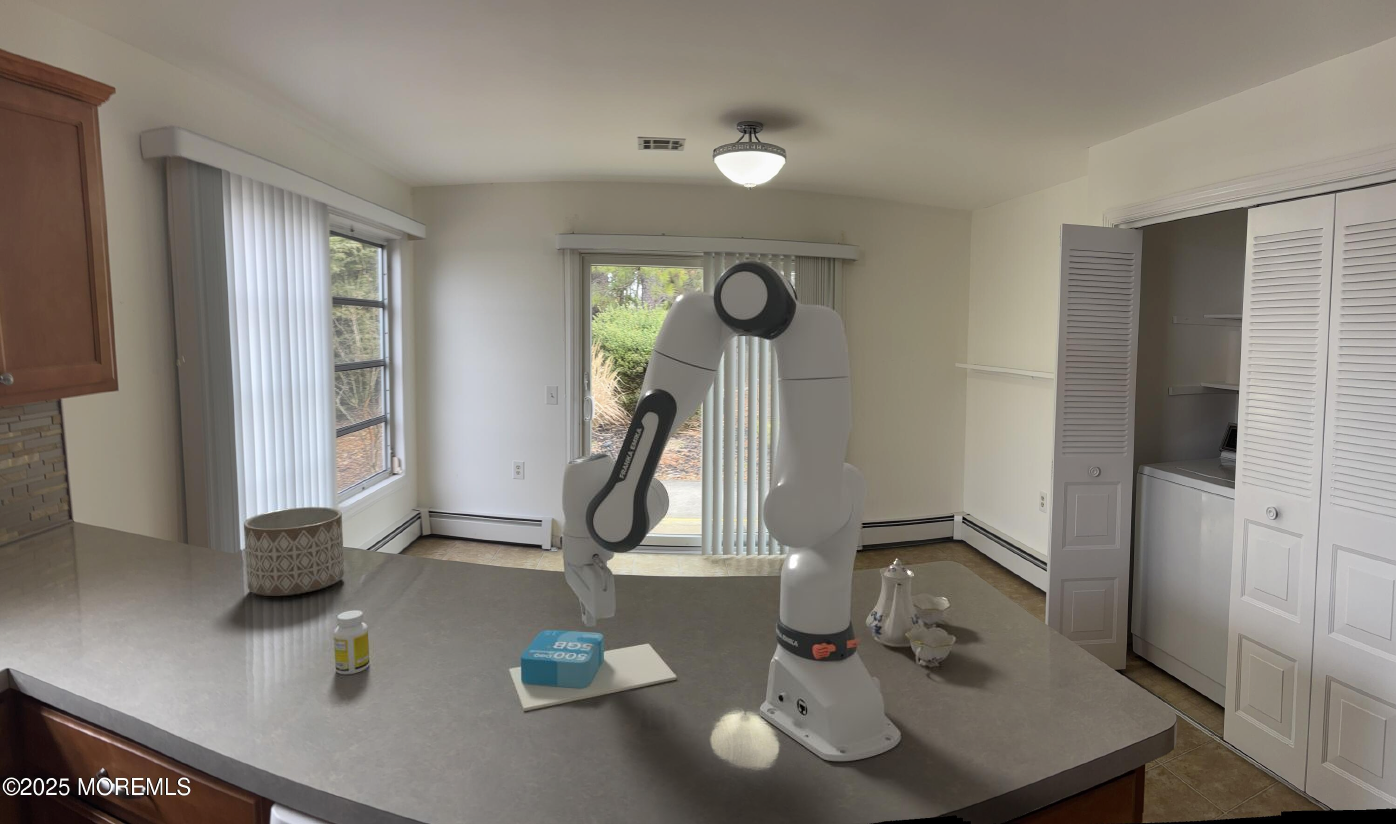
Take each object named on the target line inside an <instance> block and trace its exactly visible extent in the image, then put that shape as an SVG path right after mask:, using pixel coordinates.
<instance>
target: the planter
mask: <svg viewBox="0 0 1396 824" xmlns="http://www.w3.org/2000/svg"><path fill="white" fill-rule="evenodd" d="M342 518H343V515H342V511H340V510H339V509H336V508H332V507H322V506H309V507H308V506H307V507H293V508H285V509H284V508H283V509H278V510H272V511H267V512H264V513H260V514H256V515H254V516H251V517H249V518H247V519H246V520H244V522H243V531H244V532H243V533H244V548H245V549H244V551H245V566H246V567H245V568H246V582H247V588H248V590H249V591H250V592H251V593H253V594H255V595H259V596H266V597H267V596H269V597H278V596H279V597H281V596H295V595H294V594H297V595H302V594H301V593H303V594H307V593H310V592H315V591H318V590H321V589H324V588H327V587H330V586H331V585H335V584H336V583H337V582H339V581H340V580H342V578H343V577H344V575H345V557H344V537H343V536H344V535H343V519H342ZM306 592H307V593H306Z"/></svg>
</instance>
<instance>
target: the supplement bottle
mask: <svg viewBox="0 0 1396 824" xmlns="http://www.w3.org/2000/svg"><path fill="white" fill-rule="evenodd" d="M336 619H337V627H336V628H335V629H334V630H333V646H334V663H335V671H336V672H337V673H338V674H339V675H353V674H357V673H360V672H363V671H364V670H366V669H367V668H368V667H369V666H370V646H369V645H370V644H369V642H370V641H369V628H368V625H367V624H366V623H365V622H363V621H364V614H363V611H361V610H356V609H355V610H347V611H343V612H342V613H339V614H338V615H337V618H336Z"/></svg>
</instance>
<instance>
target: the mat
mask: <svg viewBox="0 0 1396 824" xmlns="http://www.w3.org/2000/svg"><path fill="white" fill-rule="evenodd" d="M508 672H509V675H510V677H511V681H512V683H513V685H514V688H515V690H516V691H515V692H516V693H517V696H518V699H519V702H520V704H521V707H522V709H523V712H526V711H531V710H537V709H543V708H546V707H549V706H550V707H551V706H556V705H560V704H566V703H570V702H574V701H579V700H584V699H589V698H594V697H598V696H605V695H609V694H613V693H617V692H622V691H628V690H633V689H637V688H641V687H646V686H651V685H655V684H663V683H665V682H670V681H674V680H677V678H678V676H677V675H676V674H675V673H674V672H673V671H672V669H671V668H670V667H669V666H668V665H667V663H666V662H665V661H664V660H663V659H662V657H661V656H660V655H659V654H658V653H657V651H655V649H653V647H652V645H651V644H649V643H645V644H638V645H633V646H626V647H621V648H616V649H610V650H604V660H603V662H602V664H601V665H600V667H599V669H598V671H597V673H596V675H595V676H594V678H593V680H592V682H591V684H590V685H589V686H587V687H585V688H568V687H555V686H542V685H528V684H524V683H523V682H522V681H521V666H517V667H516V666H515V667H511V668H508Z"/></svg>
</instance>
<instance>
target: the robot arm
mask: <svg viewBox="0 0 1396 824" xmlns="http://www.w3.org/2000/svg"><path fill="white" fill-rule="evenodd" d="M658 331H659V332H658V334H657V335H656V336H657V337H656V339H655V342H654V345H653V348H652V349H651V354H650V357H649V360H648V364H647V367H646V371H645V374H644V379H643V382H642V385H641V390H640V393H639V396H638V400H637V403H636V407H635V410H634V414H633V416H632V418H631V421H630V423H629V427H628V430H627V431H626V433H625V436H624V439H623V442H622V444H621V446H620V447H621V448H620V450H619V452H618V456H617V458H616V461H615V459H613V458H612V456H610V455H609V454H606V453H593V454H586V455H583V456H578V457H576V458H574V459H572V460H571V461H569V462H568V463H567V464H566V465H565V467H564V472H563V479H562V494H561V506H562V511H563V515H564V523H563V526H562V533H561V534H560V535H559V541H558V542H559V546H560V547H561V549H562V559H563V561H562V563H563V570H564V576H565V577H564V578H565V581H566V582H567V584H568V585H569V587H570V588H571V589H572V590H573V592H574V593H575V595H576V596H577V598H578V599H579V604H580V605H579V606H580V611H581V621H583V623H584V625H585V626H586V628H592V627H595V626H596V625H597V620H599V619H607V618H612V617H614V615H615V613H616V605H617V604H616V587H615V578H614V573H613V571H612V570H611V569H610V567H608V562H609V561H610V560H612V559H613V558H614V556H615V553H617V554H622V553H629V552H631V551H633V550H634V549H636V548H637V547H639V545H640V544H641V543H642V542H643V540H644V539H645V538H646V537H647V535H649V534H650V532H651V531H653V530H654V529H655V528H656V526H658V525H659V524H660V523H661V521H662V520H663V519H664V518H665V516H667V513H668V511H669V508H670V498H669V493H668V491H667V489H666V487H665V485H664V484H663V483H662V482H661V481H660V480H659V479H657V478H656V477H655V476H656V472H657V470H658V467H659V464H660V462H661V459H662V456H663V454H664V452H665V449H666V447H667V446H668V444H669V441H670V439H671V438H673V437H672V436H673V435H674V434H675V433H676V431H677V430H678V429H679V428H680V427H681V426H682V425H683V423H685V422H686V421H687V420H688V419H689V418H690V417H691V416H692V415H693V414H694V413H695V412H696V411H698V410H699V408H701V406H702V404H703V402H704V401H705V399H706V397H707V396H708V394H709V392H710V390H711V387H712V385H713V383H714V380H715V377H716V375H717V373H718V370H719V366H720V363H721V361H722V357H723V355H724V352H725V350H726V348H727V345H728V344H729V342H730V341H731V340H733V339H734V338H736V337H753V338H760V339H762V340H767V341H770V342H771V343H772V345H773V347H774V349H775V353H776V361H777V385H778V387H777V388H778V414H779V415H778V416H779V417H778V419H779V425H778V427H779V430H778V439H777V447H776V452H775V453H776V455H775V460H774V464H773V465H774V466H773V472H772V479H771V483H770V488H769V490H768V493H767V495H766V497H765V499H764V502H763V506H762V519H763V522H764V523H763V524H764V526H765V528H766V530H767V532H768V533H769V534H770V536H771V537H772V539H774V540H775V541H776V542H778V543H780V544H781V545H783V546H785V547H788V549H787V550H788V551H787V552H786V553H787V554H786V556H785V560H784V562H783V564H782V567H781V572H780V594H779V595H780V598H779V599H780V600H779V601H780V602H779V613H778V616H777V617H776V618H777V619H776V624H775V631H776V634H775V635H776V641H777V646H776V649H775V652H774V653H773V657H772V658H771V660H770V663H769V671H768V679H767V685H766V687H767V689H766V697H765V701H764V702H763V703H762V704H761V705H760V708H759V716H760V717H762V718H763V719H765V720H766V721H768V722H769V723H770V724H772V725H773V726H775V727H776V728H778V729H779V730H780V731H782V732H783V733H784V734H786V735H787V736H788V737H790V738H792V739H793V740H794V741H796V742H798V743H799V744H800V745H803V746H804V747H805V748H806V749H808V750H809V751H811V752H812V753H813V754H815V755H816V756H817V757H819V758H821V759H822V760H826V761H829V762H830V761H832V762H851V761H856V760H862V759H863V760H864V759H866V758H867V759H868V758H870V757H874V756H877V755H879V754H882V753H883V754H884V753H885V752H887V751H889V750H892V749H893V748H894V747H896V746H897V745H898V744H899V742H900V741H901V740H902V736H901V735H902V733H901V731H900V729H898V728H897V726H896V725H895V724H894V723H893V722H892V721H891V719H889V718H888V716H886V714H885V702H884V697H883V694H882V693H881V689H882V688H881V687H882V686H881V682H880V680H879V679H878V678H877V677H876V676H871V674H870V672H869V671H868V669H867V668H866V666H865V664H864V662H863V661H862V659H861V658H860V655H859V654H858V651H857V649H858V647H860V646H861V644H859V643H858V642H860V641H861V638H856V636H855V634H856V633H855V630H854V628H853V622H852V621H851V603H852V601H851V599H852V584H853V583H852V582H853V581H852V580H853V571H854V565H855V559H856V555H857V550H858V544H859V539H860V534H861V529H862V528H861V527H862V520H863V513H864V509H865V505H866V502H867V497H868V484H867V482H866V479H865V476H864V475H863V473H862V472H861V471H860V470H859V469H858V468H857V467H856V466H854V465H853V464H851V463H848V462H845V459H846V454H847V447H848V441H849V437H850V435H851V432H852V428H853V419H852V418H853V417H852V416H853V413H852V388H851V365H850V356H849V355H850V354H849V348H848V341H847V337H846V331H845V327H844V323H843V320H842V318H841V316H840V314H839V313H838V312H837V311H835V310H834V309H833V308H831V307H827V306H826V305H822V304H821V305H820V304H803V303H801V302H799V301H798V295H797V292H796V289H795V287H794V285H793V284H792V283H791V282H790V281H789V280H788V279H787V277H786V276H785V275H784V274H783V273H782V272H781V271H779V270H778V269H776V268H775V267H772V266H770V265H767V264H765V263H763V262H760V261H755V260H746V261H740V262H736V263H735V264H733V265H731V266H729V267H728V268H727V269H726V270H724V271H723V272H722V273H721V275H720V276H719V278H718V280H717V281H716V283H715V286H714V289H713V293H709V292H705V291H700V290H692V291H686V292H683V293H681V294H679V295H678V296H677V297H676V298H675V300H674V301H673V303H672V305H671V306H670V308H669V310H668V312H667V314H666V316H665V318H664V319H663V322H662V324H661V326H660V329H659V330H658Z"/></svg>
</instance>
